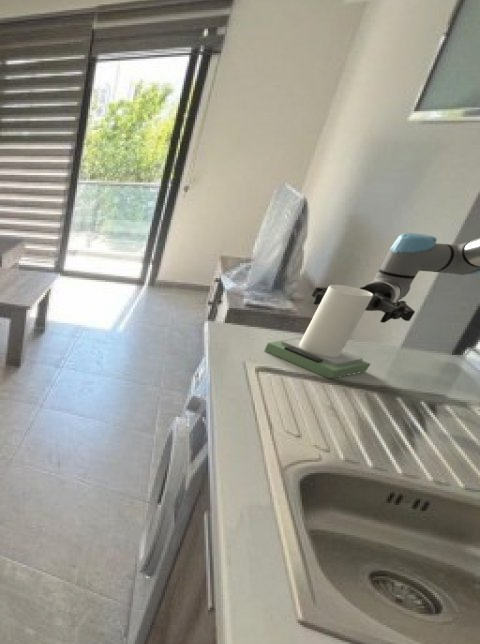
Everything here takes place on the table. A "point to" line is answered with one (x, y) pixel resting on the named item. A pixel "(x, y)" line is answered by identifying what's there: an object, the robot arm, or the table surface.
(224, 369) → the table surface
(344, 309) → the cup
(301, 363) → the scale
